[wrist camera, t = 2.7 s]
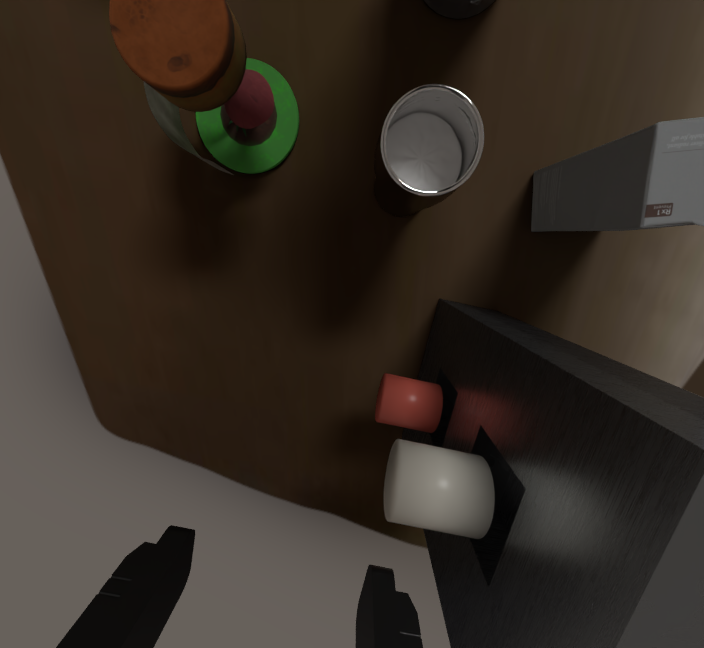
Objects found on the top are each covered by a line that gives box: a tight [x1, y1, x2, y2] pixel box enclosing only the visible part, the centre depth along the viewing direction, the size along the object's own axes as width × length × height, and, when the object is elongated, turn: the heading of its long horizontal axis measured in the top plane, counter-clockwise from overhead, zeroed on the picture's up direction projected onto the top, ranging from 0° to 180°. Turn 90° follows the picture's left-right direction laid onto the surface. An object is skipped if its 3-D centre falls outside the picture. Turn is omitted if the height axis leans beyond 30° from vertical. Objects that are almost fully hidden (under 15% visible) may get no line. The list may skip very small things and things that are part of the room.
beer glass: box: [374, 84, 484, 217], centre depth 28 cm, size 7×7×15 cm
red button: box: [375, 373, 443, 433], centre depth 30 cm, size 5×4×4 cm
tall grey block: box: [402, 299, 704, 648], centre depth 25 cm, size 7×18×30 cm, turn 168°
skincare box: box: [531, 117, 704, 232], centre depth 28 cm, size 8×7×16 cm
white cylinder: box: [384, 439, 495, 539], centre depth 19 cm, size 5×4×4 cm
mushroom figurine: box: [109, 0, 299, 175], centre depth 27 cm, size 12×13×15 cm
